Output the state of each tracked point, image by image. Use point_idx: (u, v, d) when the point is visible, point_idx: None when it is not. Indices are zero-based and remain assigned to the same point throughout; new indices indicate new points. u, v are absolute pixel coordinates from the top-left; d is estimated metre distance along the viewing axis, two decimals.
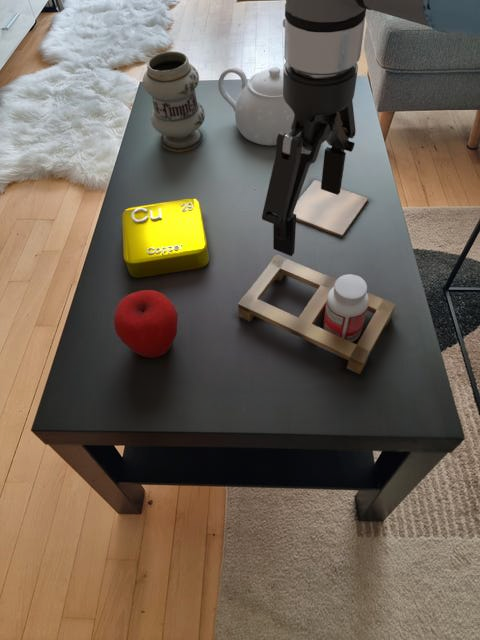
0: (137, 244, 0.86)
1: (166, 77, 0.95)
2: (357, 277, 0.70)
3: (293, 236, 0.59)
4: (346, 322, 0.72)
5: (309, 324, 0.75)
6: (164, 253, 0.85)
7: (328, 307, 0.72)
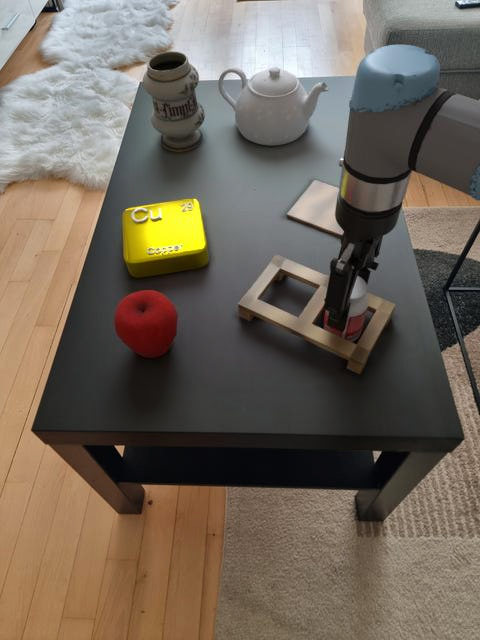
0: (137, 244, 0.86)
1: (166, 77, 0.95)
2: (357, 277, 0.70)
3: (346, 318, 0.70)
4: None
5: (309, 324, 0.75)
6: (164, 253, 0.85)
7: None
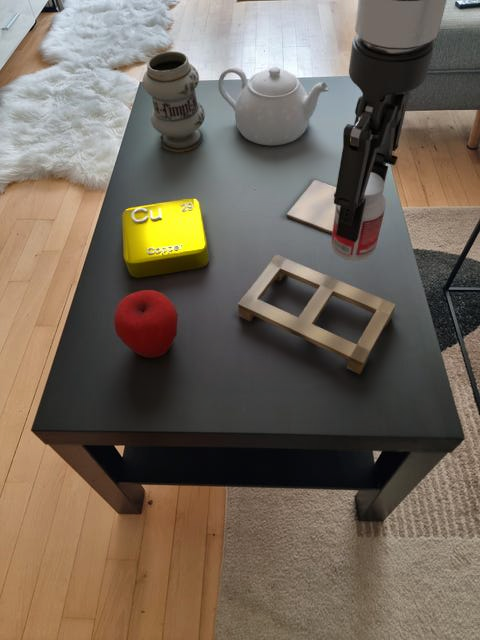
0: (137, 244, 0.86)
1: (166, 77, 0.95)
2: (372, 174, 0.59)
3: (360, 221, 0.59)
4: None
5: (309, 324, 0.75)
6: (164, 253, 0.85)
7: (338, 212, 0.61)
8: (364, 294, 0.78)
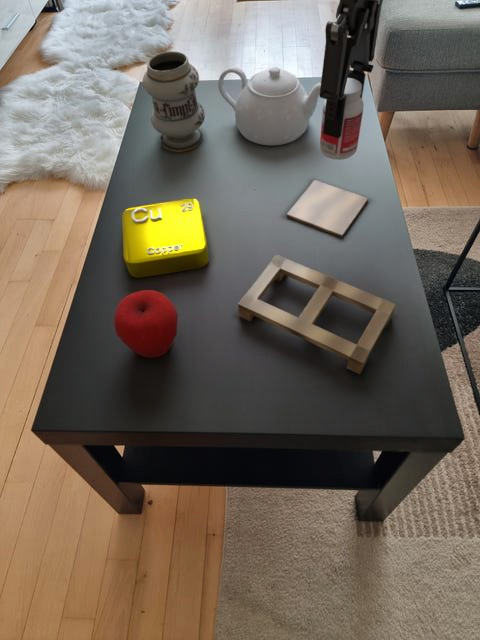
0: (137, 244, 0.86)
1: (166, 77, 0.95)
2: (352, 79, 0.72)
3: (342, 117, 0.72)
4: None
5: (309, 324, 0.75)
6: (164, 253, 0.85)
7: (324, 113, 0.74)
8: (364, 294, 0.78)
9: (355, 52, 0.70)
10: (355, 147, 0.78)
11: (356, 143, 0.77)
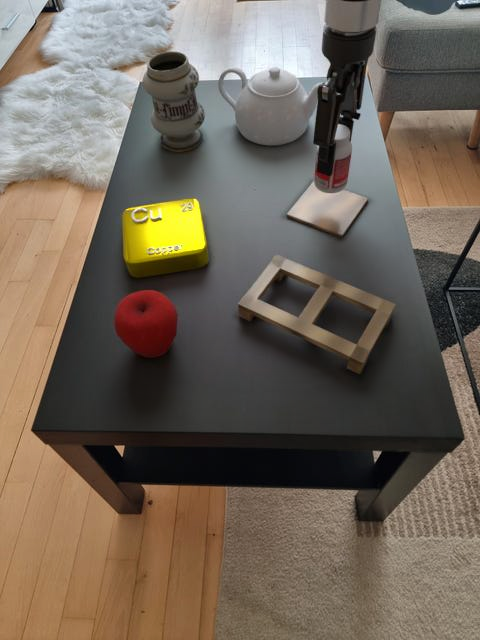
0: (137, 244, 0.86)
1: (166, 77, 0.95)
2: (342, 125, 0.83)
3: (333, 159, 0.82)
4: (333, 166, 0.84)
5: (309, 324, 0.75)
6: (164, 253, 0.85)
7: (317, 154, 0.84)
8: (364, 294, 0.78)
9: (344, 103, 0.80)
10: (345, 182, 0.88)
11: (346, 179, 0.88)
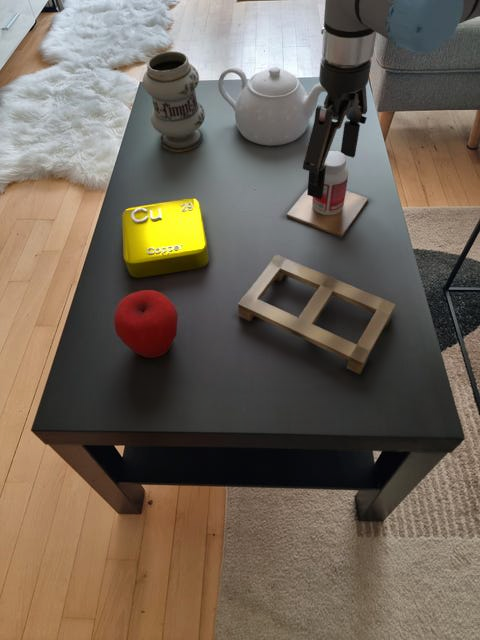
0: (137, 244, 0.86)
1: (166, 77, 0.95)
2: (338, 152, 0.87)
3: (323, 183, 0.82)
4: (330, 191, 0.88)
5: (309, 324, 0.75)
6: (164, 253, 0.85)
7: None
8: (364, 294, 0.78)
9: (348, 114, 0.84)
10: (342, 205, 0.92)
11: (342, 202, 0.92)
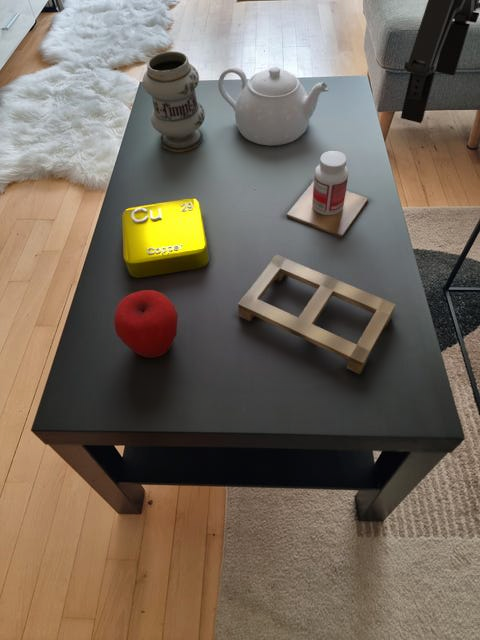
0: (137, 244, 0.86)
1: (166, 77, 0.95)
2: (338, 152, 0.87)
3: (427, 97, 0.60)
4: (330, 191, 0.88)
5: (309, 324, 0.75)
6: (164, 253, 0.85)
7: (315, 179, 0.89)
8: (364, 294, 0.78)
9: None
10: (342, 205, 0.92)
11: (342, 202, 0.92)
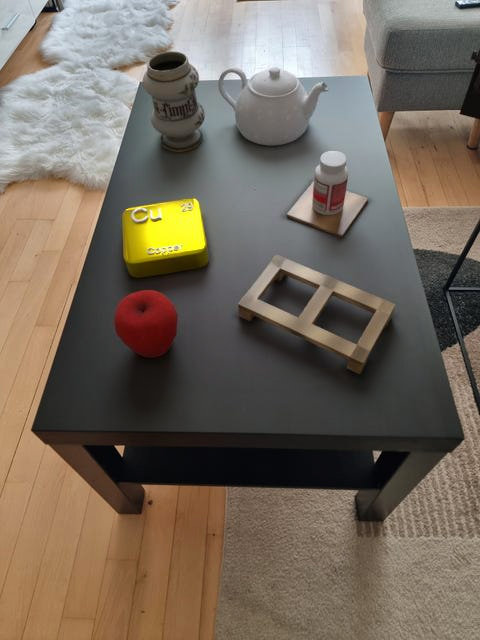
0: (137, 244, 0.86)
1: (166, 77, 0.95)
2: (338, 152, 0.87)
3: None
4: (330, 191, 0.88)
5: (309, 324, 0.75)
6: (164, 253, 0.85)
7: (315, 179, 0.89)
8: (364, 294, 0.78)
9: None
10: (342, 205, 0.92)
11: (342, 202, 0.92)
